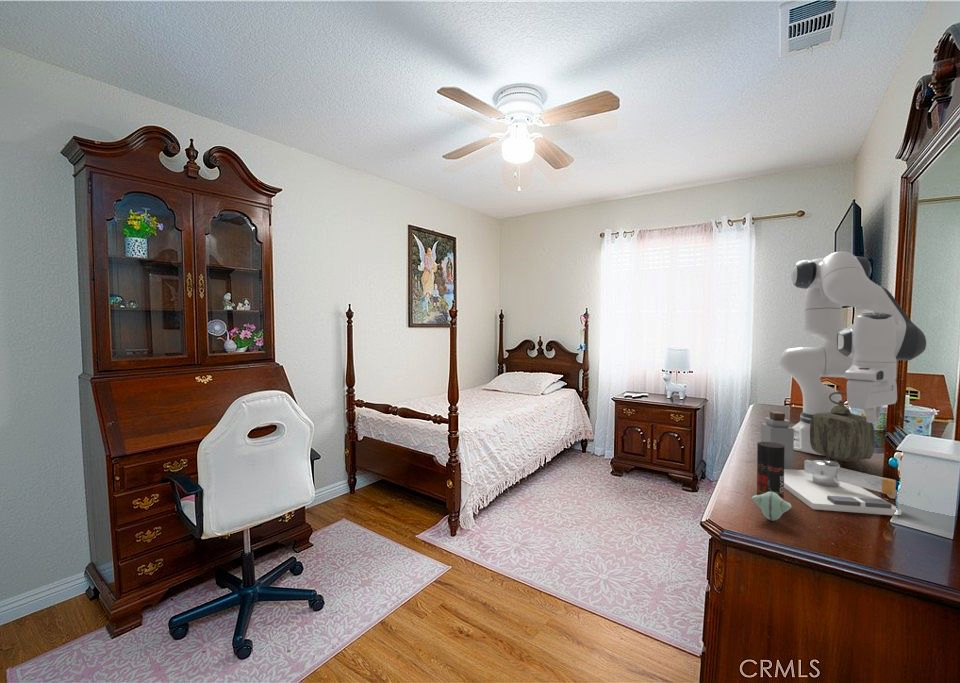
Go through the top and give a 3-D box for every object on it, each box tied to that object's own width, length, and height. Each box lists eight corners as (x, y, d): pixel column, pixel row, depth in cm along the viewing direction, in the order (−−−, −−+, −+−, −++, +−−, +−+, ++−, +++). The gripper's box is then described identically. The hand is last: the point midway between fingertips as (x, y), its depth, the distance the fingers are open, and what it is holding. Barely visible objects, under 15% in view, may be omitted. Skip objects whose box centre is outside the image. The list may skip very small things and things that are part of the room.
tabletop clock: (874, 473, 132) (875, 394, 131) (854, 476, 129) (855, 396, 129) (825, 460, 146) (826, 388, 145) (806, 462, 143) (807, 389, 142)
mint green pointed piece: (750, 517, 101) (750, 490, 101) (753, 512, 104) (754, 485, 104) (790, 528, 96) (791, 499, 96) (793, 522, 99) (793, 494, 99)
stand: (763, 472, 133) (763, 464, 133) (832, 476, 129) (832, 468, 129) (812, 509, 106) (812, 499, 106) (902, 516, 102) (902, 505, 102)
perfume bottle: (793, 469, 136) (794, 414, 135) (770, 468, 137) (770, 414, 136) (782, 463, 142) (783, 410, 142) (760, 462, 144) (761, 410, 143)
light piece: (800, 479, 122) (800, 457, 122) (810, 475, 125) (811, 454, 125) (888, 503, 105) (889, 478, 105) (898, 498, 108) (899, 474, 108)
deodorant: (759, 494, 116) (760, 440, 115) (785, 500, 112) (786, 444, 111) (754, 500, 112) (755, 444, 111) (781, 506, 107) (782, 449, 107)
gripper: (875, 369, 122) (875, 416, 122) (841, 372, 112) (840, 423, 112) (905, 371, 116) (904, 420, 116) (872, 374, 107) (871, 428, 107)
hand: (872, 422), depth 114 cm, fingers closed
